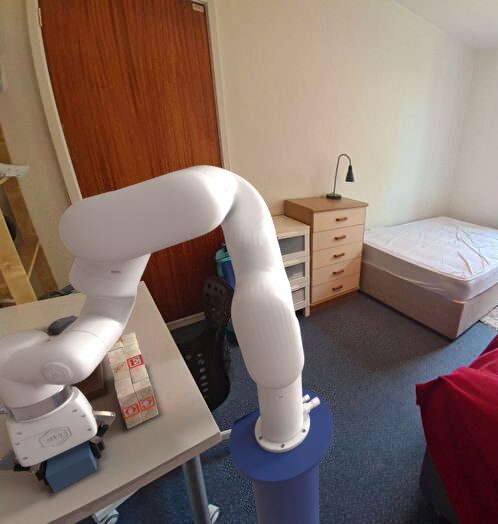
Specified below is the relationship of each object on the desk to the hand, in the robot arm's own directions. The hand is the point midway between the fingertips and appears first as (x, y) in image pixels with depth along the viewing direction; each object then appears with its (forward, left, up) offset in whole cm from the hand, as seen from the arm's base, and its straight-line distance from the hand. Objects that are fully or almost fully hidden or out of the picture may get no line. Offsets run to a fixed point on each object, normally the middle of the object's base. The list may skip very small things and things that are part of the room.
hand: (75, 464), depth 56 cm
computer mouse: (+3, -63, -1) cm, 63 cm away
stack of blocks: (-12, -14, -1) cm, 18 cm away
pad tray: (0, -28, -1) cm, 28 cm away
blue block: (0, 0, -1) cm, 1 cm away
